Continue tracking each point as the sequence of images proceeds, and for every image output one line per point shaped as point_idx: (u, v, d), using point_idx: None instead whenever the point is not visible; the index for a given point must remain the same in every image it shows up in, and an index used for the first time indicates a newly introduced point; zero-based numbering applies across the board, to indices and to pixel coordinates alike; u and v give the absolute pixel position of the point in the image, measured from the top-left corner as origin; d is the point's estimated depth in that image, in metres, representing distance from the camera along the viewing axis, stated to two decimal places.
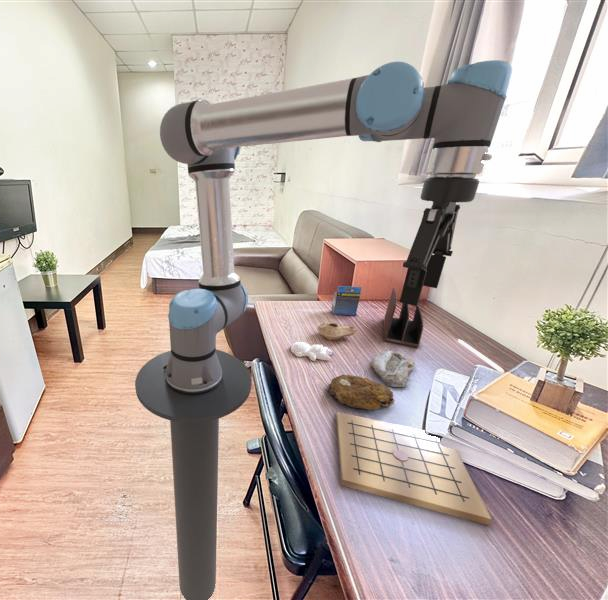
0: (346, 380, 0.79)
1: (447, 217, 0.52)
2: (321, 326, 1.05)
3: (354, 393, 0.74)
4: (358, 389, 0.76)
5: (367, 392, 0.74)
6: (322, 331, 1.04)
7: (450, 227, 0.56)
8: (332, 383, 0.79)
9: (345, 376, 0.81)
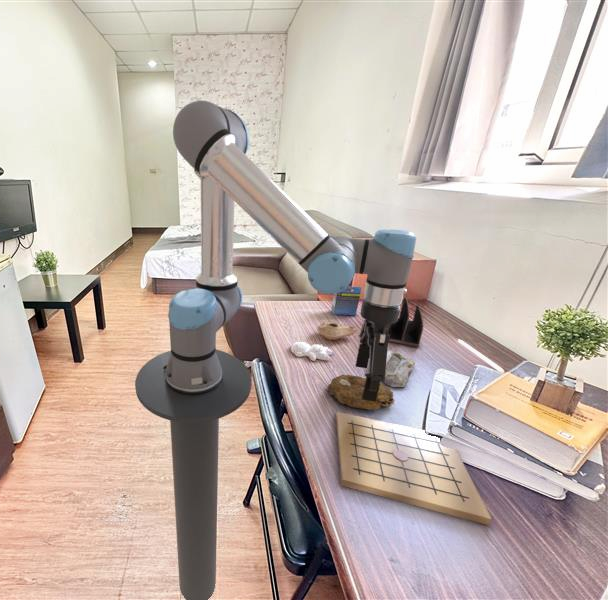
0: (346, 380, 0.79)
1: None
2: (321, 326, 1.05)
3: (354, 393, 0.74)
4: (358, 389, 0.76)
5: None
6: (322, 331, 1.04)
7: None
8: (332, 383, 0.79)
9: (345, 376, 0.81)
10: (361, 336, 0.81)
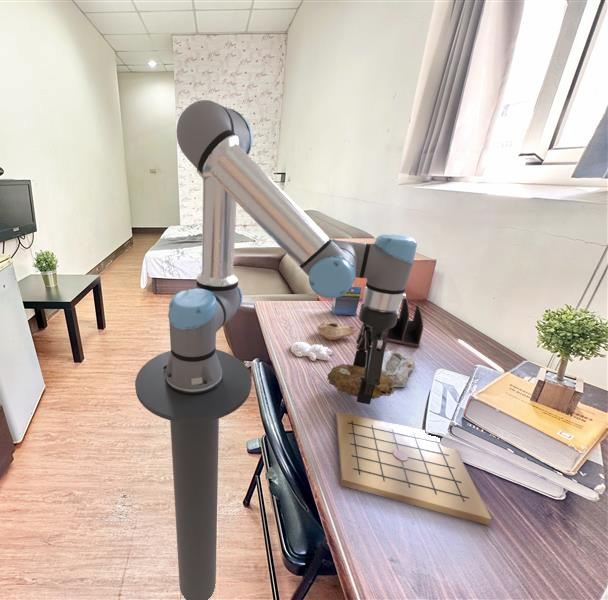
0: (346, 369, 0.78)
1: None
2: (321, 326, 1.05)
3: (354, 382, 0.74)
4: (358, 378, 0.75)
5: None
6: (322, 331, 1.04)
7: None
8: (332, 372, 0.78)
9: (345, 365, 0.80)
10: (358, 342, 0.81)
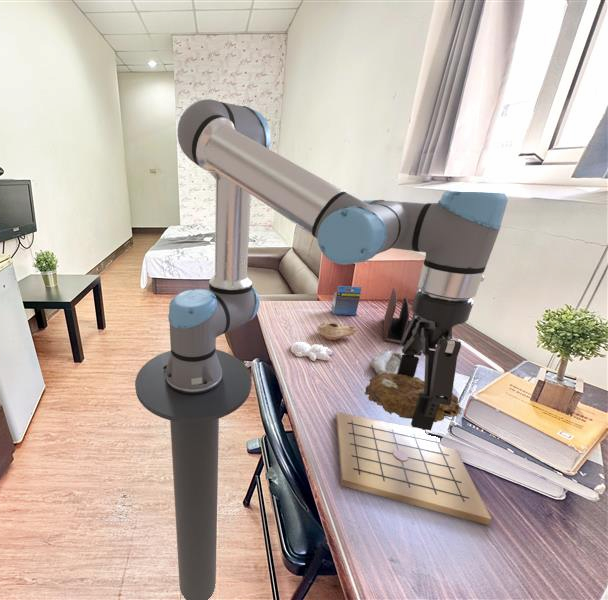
0: (390, 380, 0.59)
1: None
2: (321, 326, 1.05)
3: (405, 398, 0.54)
4: (410, 392, 0.55)
5: None
6: (322, 331, 1.04)
7: None
8: (371, 384, 0.59)
9: (388, 375, 0.60)
10: (404, 344, 0.61)
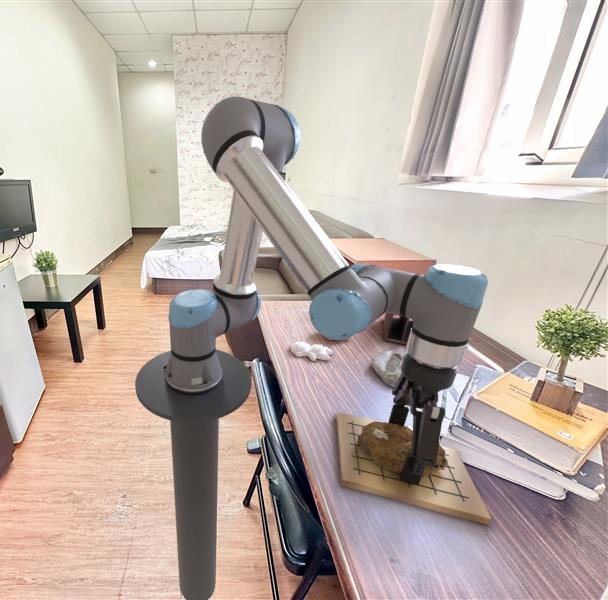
0: (381, 430, 0.61)
1: None
2: None
3: (395, 452, 0.57)
4: (399, 445, 0.58)
5: None
6: None
7: None
8: (363, 434, 0.62)
9: (379, 424, 0.63)
10: (395, 394, 0.64)
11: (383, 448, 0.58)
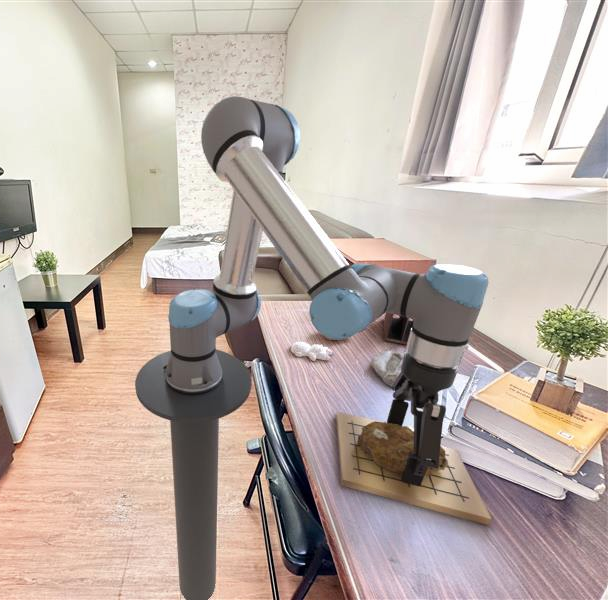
0: (381, 430, 0.61)
1: None
2: None
3: (395, 452, 0.57)
4: (399, 445, 0.58)
5: (412, 450, 0.57)
6: None
7: None
8: (363, 434, 0.62)
9: (379, 424, 0.63)
10: (395, 389, 0.65)
11: (383, 448, 0.58)
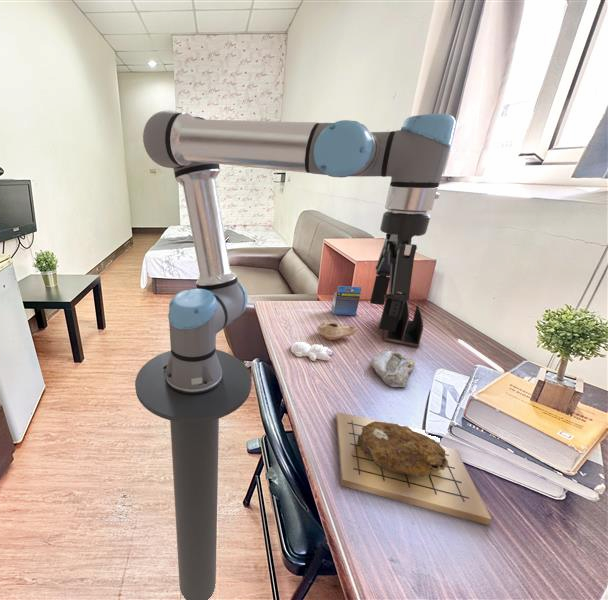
0: (381, 430, 0.61)
1: None
2: (321, 326, 1.05)
3: (395, 452, 0.57)
4: (399, 445, 0.58)
5: (412, 450, 0.57)
6: (322, 331, 1.04)
7: None
8: (363, 434, 0.62)
9: (379, 424, 0.63)
10: (378, 267, 0.70)
11: (383, 448, 0.58)
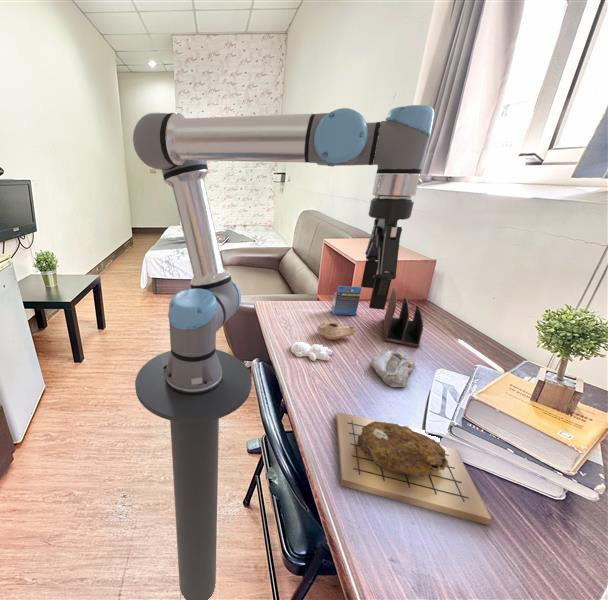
0: (381, 430, 0.61)
1: None
2: (321, 326, 1.05)
3: (395, 452, 0.57)
4: (399, 445, 0.58)
5: (412, 450, 0.57)
6: (322, 331, 1.04)
7: None
8: (363, 434, 0.62)
9: (379, 424, 0.63)
10: (367, 253, 0.74)
11: (383, 448, 0.58)
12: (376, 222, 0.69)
